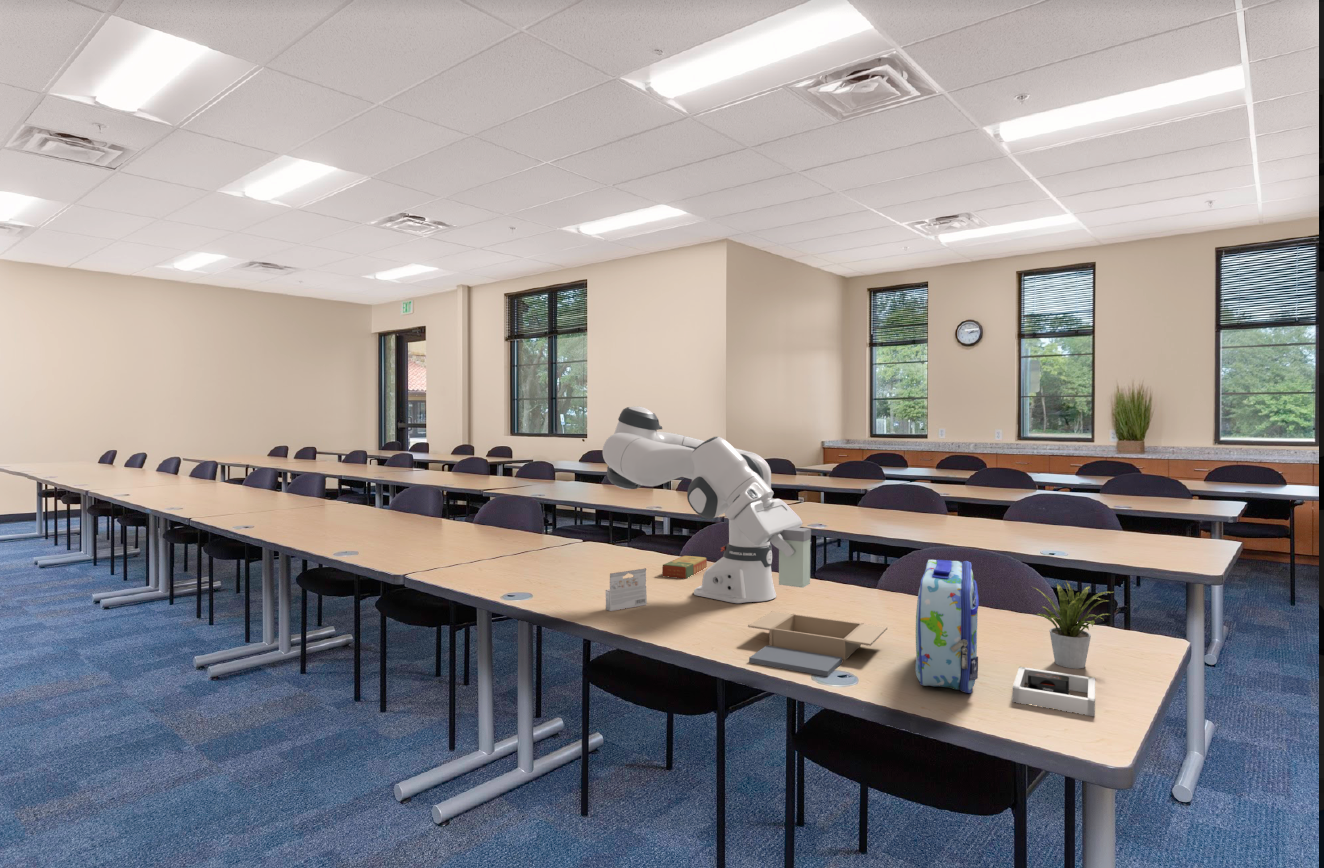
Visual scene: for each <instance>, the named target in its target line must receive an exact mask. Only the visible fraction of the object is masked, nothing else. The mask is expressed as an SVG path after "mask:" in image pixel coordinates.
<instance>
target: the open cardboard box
mask: <svg viewBox="0 0 1324 868" xmlns="http://www.w3.org/2000/svg"><path fill="white" fill-rule="evenodd" d="M747 627H748V628H750V629H752V628H753V629H758V630H764V631H765V630H766V631H769V638H768V639H769V644H768V645H769V646H775V647H781V648H787V649H793V650H799V651H806V652H812V653H818V654H824V655H830V656H836V657H842V661H846V660H847V659H848V658H849V657H850V656H851V655H852V654H854V653H855V651H857V649H859V648H860V647H861V646H862V645H863V646H870V647H871V646H872V645H873V644H874V643H875V642H876V641H877V640H878V639H879V638H880V637H881V636H882V635H883V634H884V633H885V632H886V631H887V630H888V626H882V625H875V624H867V623H865V622H854V621H848V620H847V621H846V620H839V619H832V618H825V617H818V616H811V615H803V614H796V613H790V612H789V613H788V612H780V611H774V610H772V611H770V612H768V613H767V614H764V615H763V616H761V617H760V618H758V619H756V620H754V621H752V622H751V623H749V624H748V625H747Z"/></svg>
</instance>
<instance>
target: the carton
mask: <svg viewBox="0 0 1324 868" xmlns="http://www.w3.org/2000/svg"><path fill="white" fill-rule="evenodd" d="M706 567H708V566H707V557H705V556H704V557H703V556H695V555H694V556H693V555H692V556H691V555H682V556H680V557H678V558H675V559H673V560H671V561H667V562H666V563H664V564H662V574H661V576H669V577H668V578H671V577H677V578H676V579H682V578H684V579H683V580H687V579H689V578H691V577H692V576H691V575H693V576H695V575H697V574H698V573H697V572H699V571H701V570H703V569H704V568H706ZM696 573H697V574H696ZM694 574H695V575H694ZM690 576H691V577H690ZM688 577H689V578H688Z"/></svg>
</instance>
